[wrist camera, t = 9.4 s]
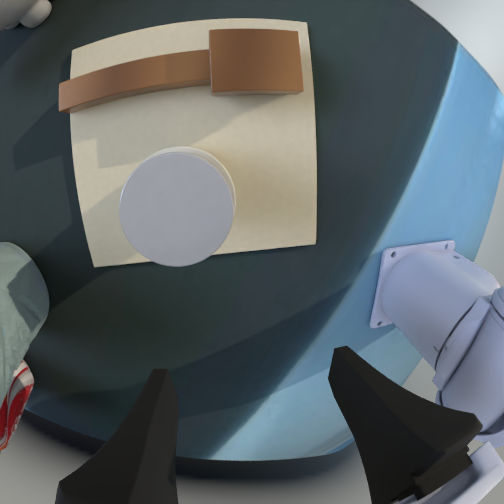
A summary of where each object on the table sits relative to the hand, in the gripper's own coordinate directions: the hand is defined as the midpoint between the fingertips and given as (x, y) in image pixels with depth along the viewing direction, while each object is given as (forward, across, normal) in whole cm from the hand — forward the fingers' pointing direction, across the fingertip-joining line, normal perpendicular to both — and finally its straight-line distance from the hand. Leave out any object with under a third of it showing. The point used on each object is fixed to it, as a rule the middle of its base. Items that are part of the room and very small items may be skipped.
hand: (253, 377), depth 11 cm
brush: (+9, +2, -14) cm, 17 cm away
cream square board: (+9, +2, -10) cm, 14 cm away
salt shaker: (+9, +2, -7) cm, 12 cm away
